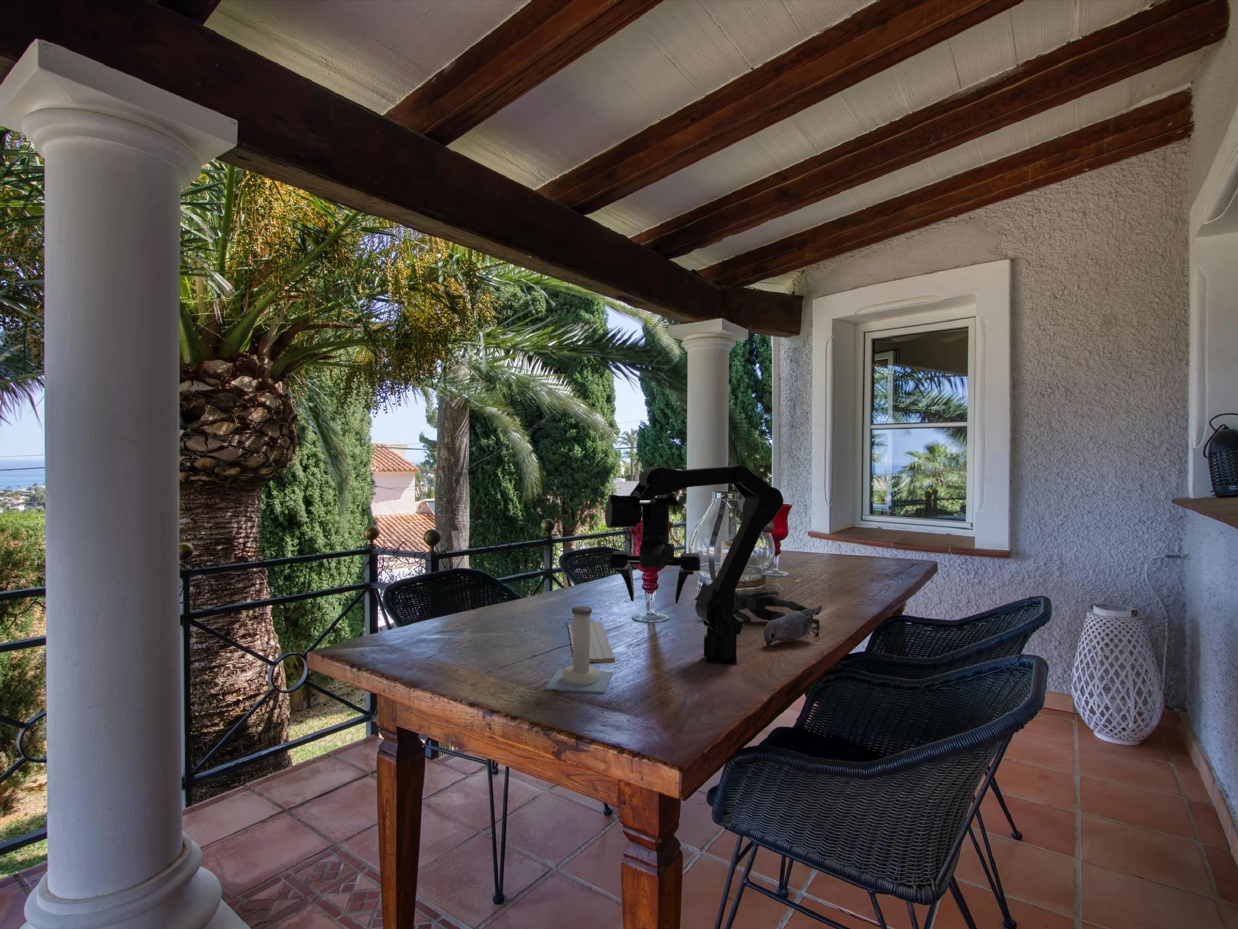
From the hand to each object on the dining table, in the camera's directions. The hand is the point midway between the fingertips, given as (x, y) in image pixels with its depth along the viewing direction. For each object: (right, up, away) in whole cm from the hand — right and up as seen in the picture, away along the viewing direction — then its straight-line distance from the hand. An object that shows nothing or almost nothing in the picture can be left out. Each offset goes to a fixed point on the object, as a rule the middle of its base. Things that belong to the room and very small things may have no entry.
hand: (654, 602), depth 137 cm
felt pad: (-15, -13, -11) cm, 22 cm away
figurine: (+31, -13, +38) cm, 51 cm away
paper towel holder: (-15, -13, -11) cm, 22 cm away
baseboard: (-15, -13, +16) cm, 26 cm away
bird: (+33, -14, +18) cm, 40 cm away
